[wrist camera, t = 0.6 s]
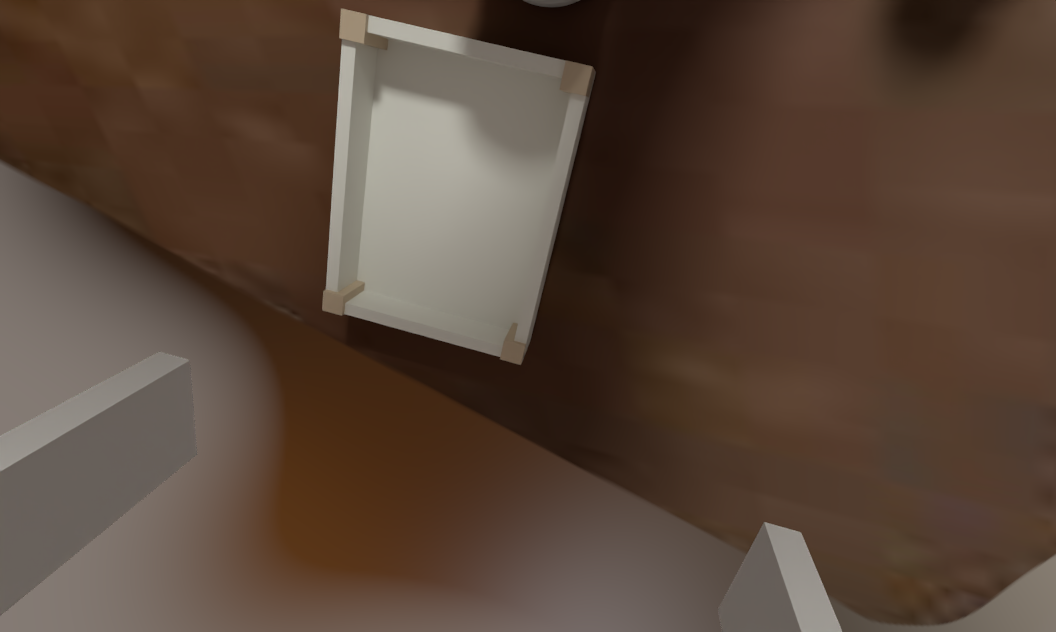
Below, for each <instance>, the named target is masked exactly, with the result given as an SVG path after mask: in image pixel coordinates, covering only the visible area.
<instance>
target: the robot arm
mask: <svg viewBox="0 0 1056 632" xmlns="http://www.w3.org/2000/svg"><path fill="white" fill-rule="evenodd" d="M196 455H197V447H196V434H195V420H194V407H193V394H192V380H191V367H190V360H188V359H184V358H181V357H177V356H174V355H170V354H167V353H163V352H160V351H159V352H157V353H156V354H154V355H152V356H150V357H148V358H146V359H144V360H142V361H140V362H139V363H137V364H135V365H133V366H131V367H130V368H127V369H125V370H124V371H122V372H120V373H118V374H116V375H114V376H112V377H110V378H109V379H107V380H105V381H103V382H101V383H99V384H97V385H95V386H94V387H92V388H90V389H88V390H86V391H84V392H82V393H80V394H78V395H76V396H74V397H73V398H71V399H69V400H67V401H65V402H63V403H61V404H59V405H57V406H56V407H54V408H52V409H50V410H48V411H46V412H44V413H42V414H41V415H39V416H37V417H35V418H33V419H31V420H29V421H27V422H25V423H23V424H22V425H20V426H18V427H16V428H14V429H12V430H10V431H8V432H7V433H5V434H3V435H1V436H0V616H1V615H2V614H3V613H4V612H6V611H7V610H8V609H9V608H10V607H12V606H13V605H14V604H15V603H17V602H18V601H19V600H20V599H21V598H23V597H24V596H25V595H26V594H27V593H29V592H30V591H31V590H32V589H34V588H35V587H36V586H37V585H38V584H40V583H41V582H42V581H43V580H45V579H46V578H47V577H48V576H49V575H51V574H52V573H53V572H54V571H56V570H57V569H58V568H59V567H60V566H62V565H63V564H64V563H65V562H67V561H68V560H69V559H70V558H71V557H73V556H74V555H75V554H76V553H77V552H79V551H80V550H81V549H82V548H84V547H85V546H86V545H87V544H88V543H90V542H91V541H92V540H93V539H95V538H96V537H97V536H98V535H100V534H101V533H102V532H103V531H104V530H106V529H107V528H108V527H109V526H111V525H112V524H113V523H114V522H115V521H117V520H118V519H119V518H120V517H122V516H123V515H124V514H125V513H126V512H128V511H129V510H130V509H131V508H132V507H134V506H135V505H136V504H137V503H138V502H140V501H141V500H142V499H143V498H145V497H146V496H147V495H148V494H150V493H151V492H152V491H153V490H154V489H156V488H157V487H158V486H159V485H160V484H162V483H163V482H164V481H165V480H167V479H168V478H169V477H170V476H172V475H173V474H174V473H175V472H176V471H178V470H179V469H180V468H181V467H182V466H184V465H185V464H186V463H187V462H189V461H190V460H191V459H192V458H193V457H195V456H196ZM718 612H719V618H720V623H721V628H722V632H842V630H841V627H840V625H839V622H838V620H837V618H836V615H835V613H834V610H833V608H832V606H831V603H830V601H829V598H828V596H827V594H826V591H825V589H824V587H823V584H822V582H821V579H820V577H819V575H818V572H817V570H816V567H815V565H814V563H813V560H812V558H811V555H810V553H809V551H808V548H807V546H806V543H805V541H804V539H803V536H802V534H801V532H797V531H794V530H790V529H787V528H783V527H780V526H776V525H773V524H769V523H766V522H764V523H763V525H762V527H761V529H760V531H759V533H758V535H757V537H756V538H755V540H754V542H753V544H752V546H751V548H750V550H749V552H748V554H747V555H746V557H745V559H744V561H743V563H742V565H741V567H740V569H739V571H738V573H737V574H736V576H735V578H734V580H733V582H732V584H731V586H730V588H729V589H728V591H727V593H726V595H725V597H724V599H723V601H722V603H721V605H720V606H719V608H718Z"/></svg>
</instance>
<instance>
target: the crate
mask: <svg viewBox="0 0 1056 632" xmlns="http://www.w3.org/2000/svg"><path fill="white" fill-rule="evenodd" d="M339 38H341V39H342V48H341V64H340V79H339V95H338V110H337V125H336V141H335V156H334V172H333V187H332V202H331V218H330V233H329V249H328V264H327V279H326V289H325V290H324V291H323V305H322V310H323V311H327V312H331V313H334V314H338V315H341V316H342V315H344V314H346V315H350V316H353V317H357V318H360V319H364V320H368V321H371V322H375V323H379V324H382V325H386V326H389V327H393V328H397V329H400V330H404V331H408V332H411V333H415V334H418V335H422V336H426V337H429V338H433V339H436V340H440V341H444V342H447V343H451V344H455V345H458V346H462V347H465V348H469V349H473V350H476V351H480V352H484V353H487V354H491V355H494V356H498V357H500V359H501V360H504V361H508V362H511V363H515V364H519V365H521V363H522V361H523V358H524V356H525V353H526V351H527V348H528V346H529V343H530V340H531V336H532V332H533V328H534V324H535V320H536V316H537V312H538V308H539V303H540V299H541V295H542V291H543V287H544V283H545V279H546V275H547V271H548V267H549V263H550V258H551V254H552V250H553V246H554V242H555V238H556V234H557V230H558V226H559V222H560V217H561V213H562V209H563V205H564V201H565V197H566V193H567V189H568V185H569V181H570V176H571V172H572V168H573V164H574V160H575V156H576V152H577V148H578V144H579V140H580V135H581V131H582V127H583V123H584V119H585V115H586V111H587V107H588V103H589V99H590V94H591V90H592V86H593V82H594V78H595V74H596V72H595V70H594V68H593V66H588V65H584V64H580V63H575V62H571V61H567V60H566V61H565V60H560V59H556V58H552V57H547V56H543V55H539V54H534V53H530V52H526V51H521V50H517V49H513V48H508V47H504V46H500V45H495V44H491V43H487V42H482V41H478V40H474V39H469V38H465V37H461V36H456V35H452V34H448V33H443V32H439V31H435V30H430V29H426V28H422V27H417V26H413V25H409V24H404V23H400V22H396V21H391V20H387V19H383V18H378V17H374V16H370V15H367V14H363V13H359V12H354V11H350V10H346V9H341V20H340V36H339Z"/></svg>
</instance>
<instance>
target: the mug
mask: <svg viewBox="0 0 1056 632" xmlns="http://www.w3.org/2000/svg"><path fill="white" fill-rule="evenodd" d="M523 1H525V2H527V3H530V4H533V5H537V6H542V7H561V6H566V5H570V4H573V3H575V2H578V1H580V0H523Z"/></svg>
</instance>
